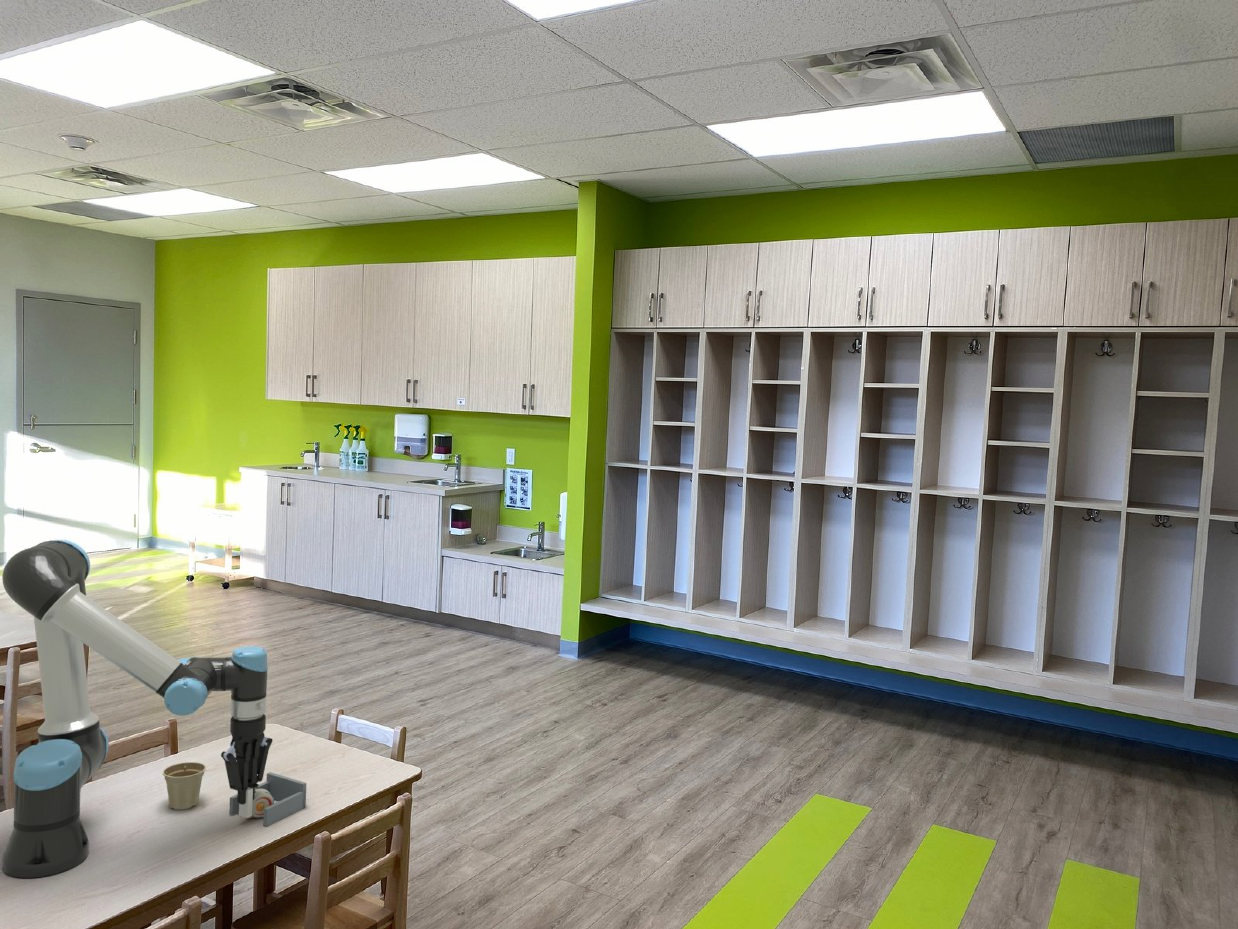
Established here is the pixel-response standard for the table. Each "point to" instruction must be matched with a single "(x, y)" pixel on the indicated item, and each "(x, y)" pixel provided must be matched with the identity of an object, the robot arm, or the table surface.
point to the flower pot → (184, 784)
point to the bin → (278, 798)
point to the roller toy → (261, 802)
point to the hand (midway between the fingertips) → (245, 815)
